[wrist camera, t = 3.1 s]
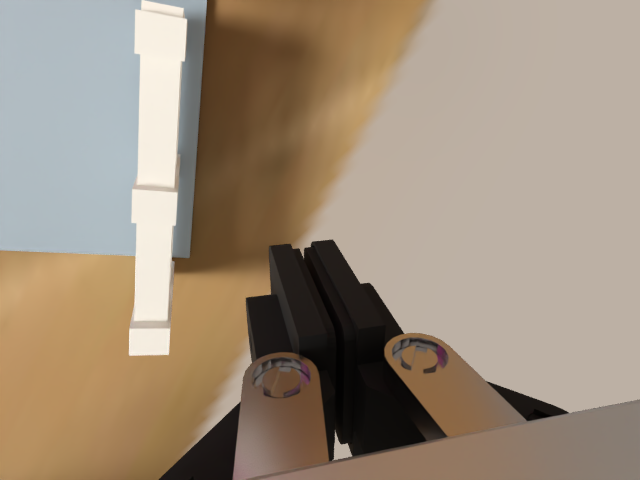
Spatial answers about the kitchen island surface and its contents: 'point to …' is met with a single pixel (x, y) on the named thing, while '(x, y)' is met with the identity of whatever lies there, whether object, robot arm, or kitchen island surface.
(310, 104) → the kitchen island surface
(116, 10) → the mat
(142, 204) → the swing panel
